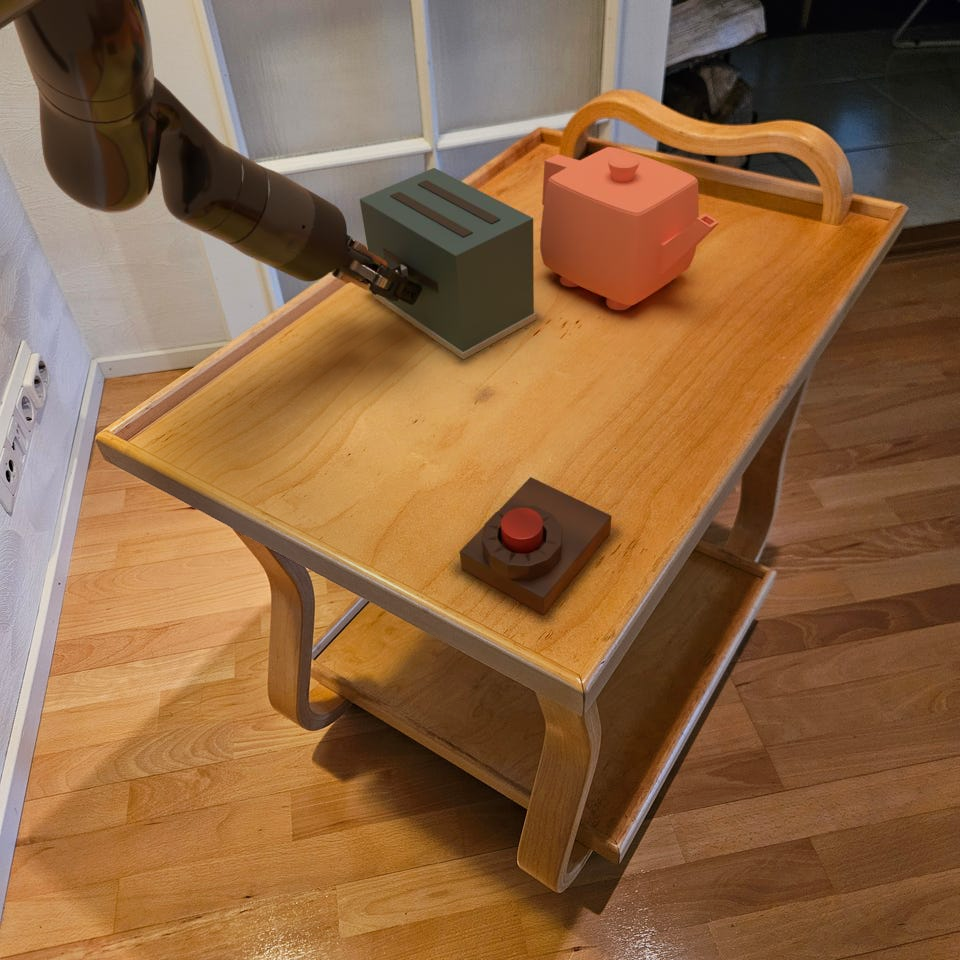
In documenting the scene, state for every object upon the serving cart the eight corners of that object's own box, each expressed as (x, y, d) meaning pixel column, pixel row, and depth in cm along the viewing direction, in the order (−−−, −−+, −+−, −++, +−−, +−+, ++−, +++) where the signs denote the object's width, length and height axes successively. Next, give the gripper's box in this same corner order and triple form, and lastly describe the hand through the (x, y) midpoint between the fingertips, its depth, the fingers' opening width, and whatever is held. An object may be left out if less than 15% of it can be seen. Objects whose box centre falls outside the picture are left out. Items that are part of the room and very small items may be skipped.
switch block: (543, 616, 63) (543, 584, 60) (460, 569, 67) (457, 537, 64) (610, 533, 69) (613, 500, 66) (530, 493, 72) (530, 461, 69)
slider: (388, 300, 85) (384, 272, 82) (375, 290, 86) (370, 263, 84) (413, 287, 86) (410, 260, 84) (399, 278, 87) (396, 251, 85)
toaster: (463, 360, 86) (455, 255, 77) (372, 296, 95) (356, 197, 86) (536, 319, 90) (536, 216, 82) (443, 262, 100) (434, 164, 91)
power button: (527, 560, 62) (527, 545, 61) (493, 542, 64) (492, 527, 63) (550, 533, 64) (551, 518, 63) (517, 516, 66) (516, 501, 64)
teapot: (732, 292, 92) (756, 169, 82) (661, 343, 86) (678, 218, 76) (582, 227, 104) (586, 112, 94) (511, 268, 98) (508, 151, 88)
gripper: (346, 213, 68) (467, 283, 82) (260, 160, 76) (384, 233, 90) (304, 293, 70) (430, 349, 84) (224, 234, 78) (351, 294, 92)
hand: (405, 288), depth 87 cm, fingers closed
